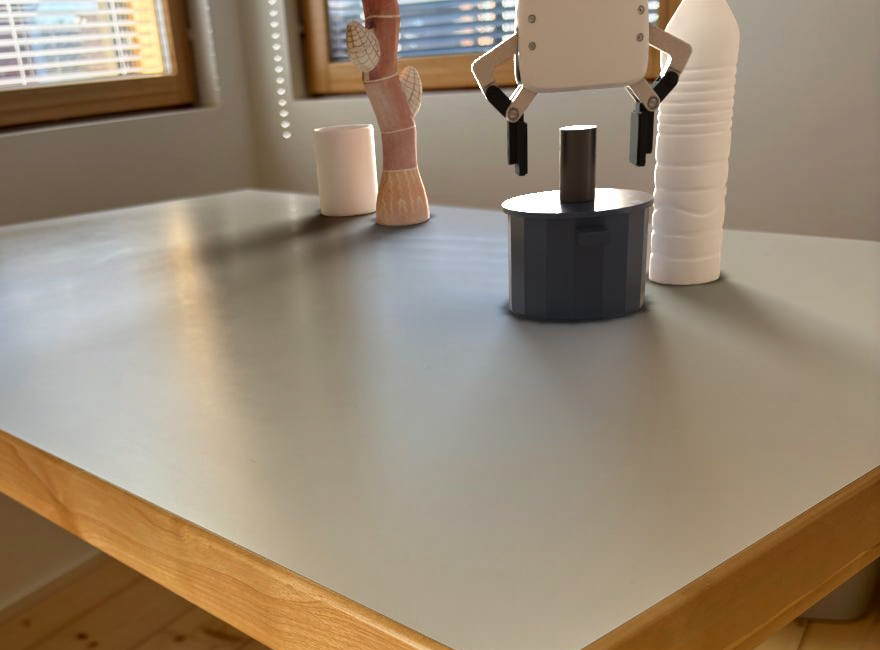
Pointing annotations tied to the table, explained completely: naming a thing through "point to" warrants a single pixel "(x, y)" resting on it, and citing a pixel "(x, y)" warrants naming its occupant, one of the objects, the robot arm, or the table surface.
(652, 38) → the robot arm
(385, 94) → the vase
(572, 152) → the lid
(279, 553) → the table surface
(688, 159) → the water bottle
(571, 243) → the pot
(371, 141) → the mug
